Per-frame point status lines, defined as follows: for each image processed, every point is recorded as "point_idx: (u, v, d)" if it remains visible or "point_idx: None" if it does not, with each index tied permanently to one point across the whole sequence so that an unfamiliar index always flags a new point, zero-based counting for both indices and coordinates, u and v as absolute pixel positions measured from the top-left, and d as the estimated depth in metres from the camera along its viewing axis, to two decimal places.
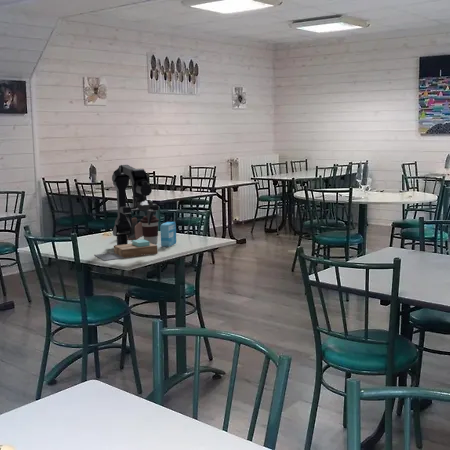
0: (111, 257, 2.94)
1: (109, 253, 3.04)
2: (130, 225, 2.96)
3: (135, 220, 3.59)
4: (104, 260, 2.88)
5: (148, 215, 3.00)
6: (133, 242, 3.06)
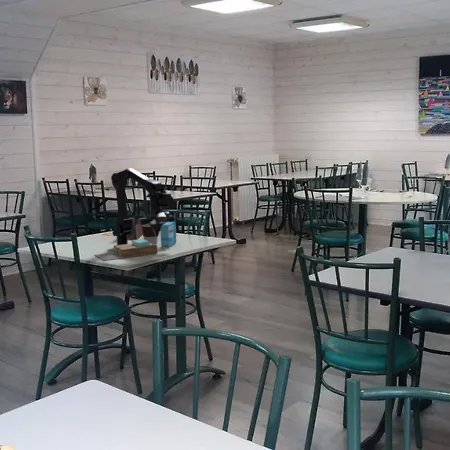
0: (111, 257, 2.94)
1: (109, 253, 3.04)
2: (155, 235, 3.09)
3: (133, 220, 3.59)
4: (104, 260, 2.88)
5: None
6: (133, 242, 3.06)
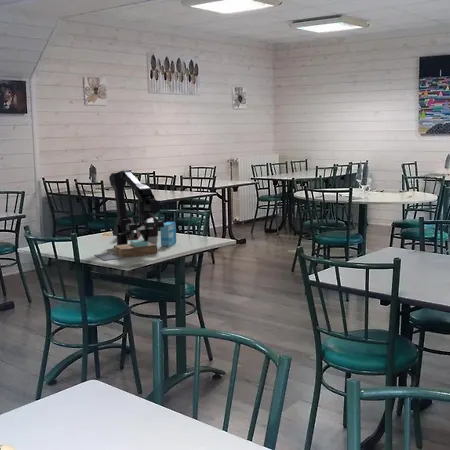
0: (111, 257, 2.94)
1: (109, 253, 3.04)
2: None
3: (132, 220, 3.59)
4: (104, 260, 2.88)
5: None
6: (131, 242, 3.05)
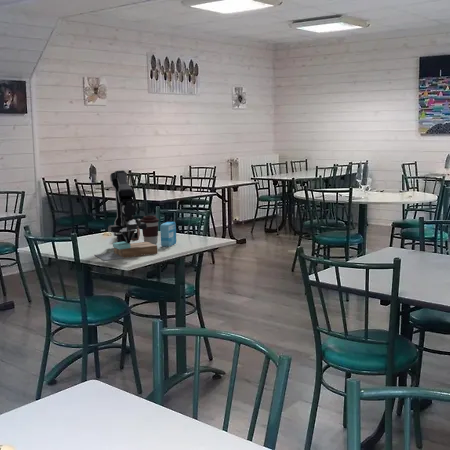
0: (111, 257, 2.94)
1: (109, 253, 3.04)
2: None
3: None
4: (104, 260, 2.88)
5: (128, 234, 3.02)
6: (114, 245, 3.00)
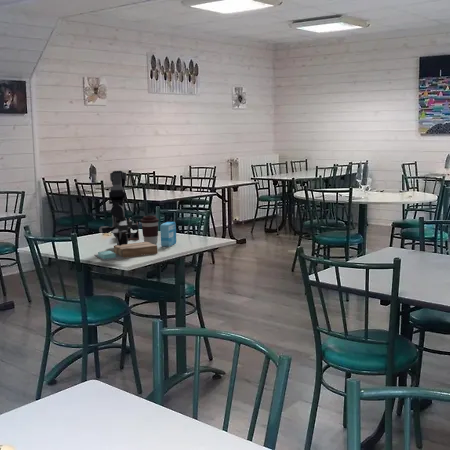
0: None
1: None
2: (118, 244, 3.00)
3: None
4: (104, 260, 2.88)
5: (119, 235, 3.00)
6: None
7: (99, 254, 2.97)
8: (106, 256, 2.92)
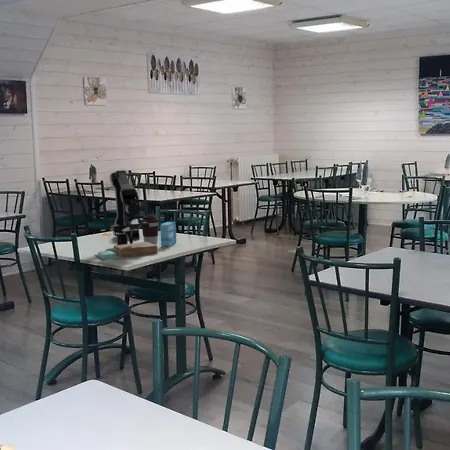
0: None
1: None
2: None
3: None
4: (104, 260, 2.88)
5: None
6: None
7: (99, 254, 2.97)
8: (106, 256, 2.92)
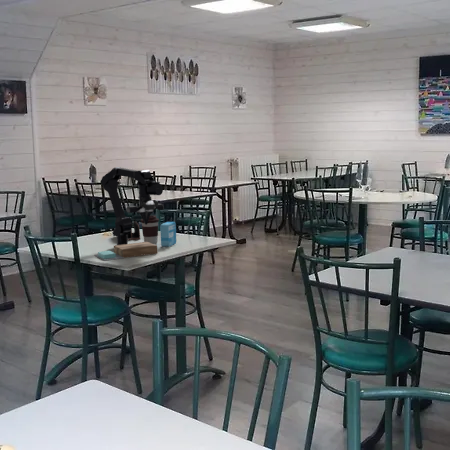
0: None
1: None
2: None
3: None
4: (104, 260, 2.88)
5: None
6: None
7: (99, 254, 2.97)
8: (106, 256, 2.92)
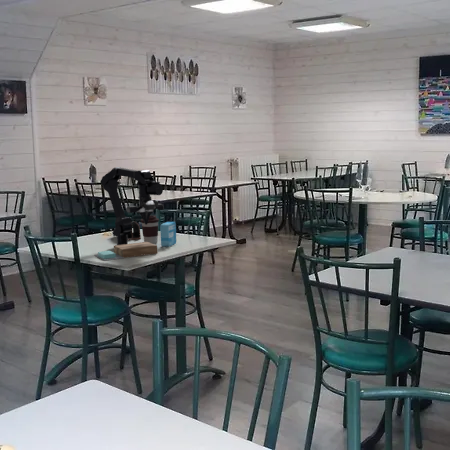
0: None
1: None
2: None
3: None
4: (104, 260, 2.88)
5: None
6: None
7: (99, 254, 2.97)
8: (106, 256, 2.92)
